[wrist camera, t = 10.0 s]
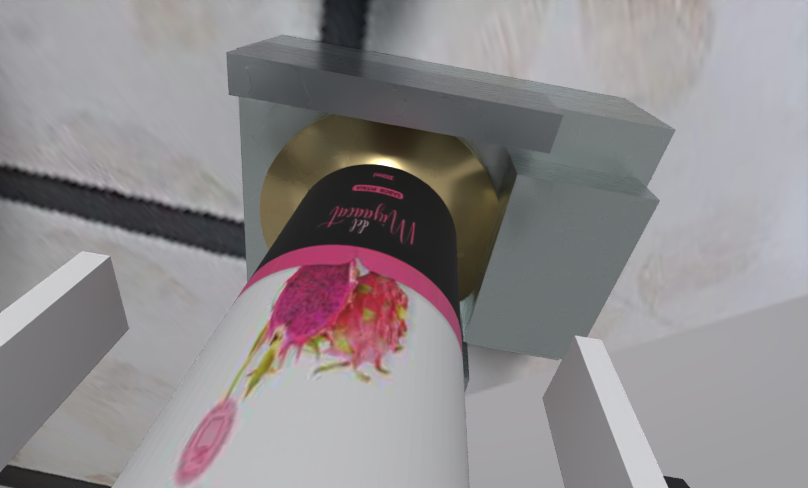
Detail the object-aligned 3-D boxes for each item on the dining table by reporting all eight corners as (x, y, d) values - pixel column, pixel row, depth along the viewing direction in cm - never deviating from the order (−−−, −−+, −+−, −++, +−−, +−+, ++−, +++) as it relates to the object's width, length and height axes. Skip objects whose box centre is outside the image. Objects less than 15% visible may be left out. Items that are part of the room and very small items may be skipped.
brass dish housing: (281, 257, 26) (222, 354, 19) (282, 25, 19) (192, 45, 12) (537, 303, 26) (571, 416, 19) (629, 89, 19) (729, 145, 12)
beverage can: (361, 123, 15) (-75, 846, 2) (490, 230, 17) (629, 960, 4) (270, 238, 18) (-147, 844, 5) (388, 319, 20) (290, 913, 7)
